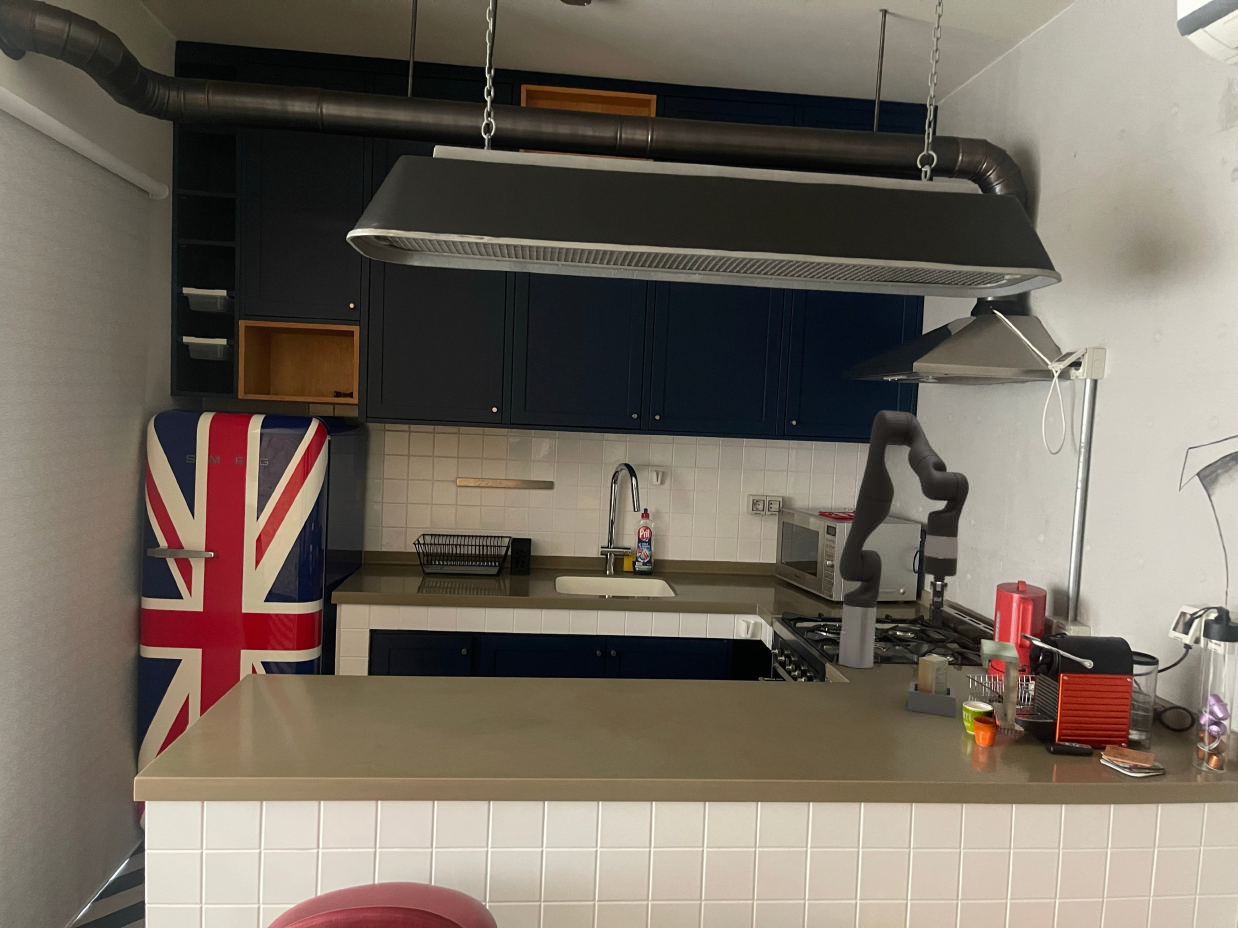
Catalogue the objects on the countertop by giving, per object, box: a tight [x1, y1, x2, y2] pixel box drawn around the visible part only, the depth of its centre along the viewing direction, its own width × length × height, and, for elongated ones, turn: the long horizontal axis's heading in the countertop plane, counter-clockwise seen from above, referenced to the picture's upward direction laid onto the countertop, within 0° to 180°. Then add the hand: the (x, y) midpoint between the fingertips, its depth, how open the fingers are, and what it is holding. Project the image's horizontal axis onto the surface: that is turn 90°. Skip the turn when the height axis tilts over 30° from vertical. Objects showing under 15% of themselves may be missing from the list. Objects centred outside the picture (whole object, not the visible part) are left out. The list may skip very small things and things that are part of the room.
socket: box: [907, 681, 957, 718], centre depth 207 cm, size 10×10×4 cm
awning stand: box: [979, 638, 1025, 732], centre depth 202 cm, size 10×18×16 cm, turn 159°
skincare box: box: [917, 654, 949, 695], centre depth 207 cm, size 6×4×12 cm
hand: (936, 622), depth 207 cm, fingers open, 8 cm apart
